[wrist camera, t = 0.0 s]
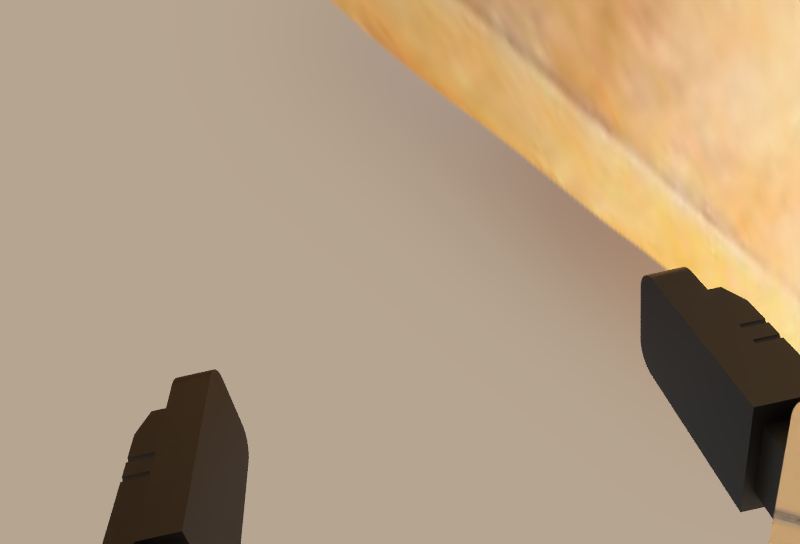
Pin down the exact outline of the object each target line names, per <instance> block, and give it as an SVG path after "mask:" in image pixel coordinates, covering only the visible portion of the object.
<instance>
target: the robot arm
mask: <svg viewBox="0 0 800 544" xmlns="http://www.w3.org/2000/svg"><path fill="white" fill-rule="evenodd" d="M641 347H642V352H643V356H644V359H645V362H646V365H647V367H648V369H649V371H650V373H651V375H652V376H653V378H654V379H655V381H656V382H657V384H658V385H659V387H660V389H661V390H662V392H663V393H664V395H665V396H666V398H667V399H668V401H669V403H670V404H671V405H672V407H673V409H674V410H675V412H676V413H677V415H678V416H679V418H680V419H681V421H682V423H683V424H684V426H685V427H686V428H687V430H688V432H689V433H690V435H691V436H692V438H693V440H694V441H695V443H696V444H697V446H698V447H699V449H700V450H701V452H702V453H703V455H704V456H705V458H706V459H707V461H708V463H709V464H710V466H711V467H712V469H713V470H714V472H715V474H716V475H717V477H718V478H719V480H720V481H721V483H722V484H723V486H724V487H725V489H726V490H727V492H728V493H729V495H730V496H731V498H732V500H733V501H734V503H735V504H736V506H737V507H738V509H739V510H740V512H743V511H748V510H752V509H757V508H761V507H765V508H766V509H767V511H768V512H769V514H770V515H771V517H772V518H773V522H772V528H771V534H770V539H769V544H800V355H799V354H798V352H797V351H796V350H795V349H794V348H793V347H792V346H791V345H790V344H789V343H788V342H787V341H786V340H785V339H784V338H780V335H779V333H778V332H777V331H776V330H775V329H774V328H773V327H772V326H771V324H770V323H769V322H768V323H766V321H765V318H764V317H763V316H762V315H761V314H760V313H759V312H758V311H757V310H756V309H755V308H754V307H753V306H752V305H751V304H750V303H749V302H748V301H747V300H745V299H743V298H742V297H740V296H738V295H736V294H734V293H732V292H730V291H728V290H726V289H724V288H722V287H718V288H714V289H709V290H707V288H706V287H705V286H704V285H703V284H702V283H701V282H700V281H699V280H698V278H697V277H696V276H695V275H694V274H693V273H692V272H691V271H690V270H689V269H688V268H686V267H681V268H677V269H672V270H668V271H663V272H659V273H654V274H650V275H646V276H644V277H643V278H642V281H641ZM248 455H249V453H248V444H247V438H246V434H245V431H244V428H243V425H242V423H241V420H240V418H239V416H238V413H237V411H236V409H235V407H234V404H233V402H232V400H231V397H230V395H229V393H228V391H227V388H226V386H225V384H224V381H223V379H222V377H221V375H220V373H219V372H218V371H217V370H210V371H205V372H201V373H196V374H192V375H187V376H183V377H179V378H175V379H174V381H173V383H172V387H171V391H170V395H169V399H168V403H167V407H166V408H165V409H160V410H156V411H152V412H151V413H150V414H149V416H148V417H147V418H146V420H145V421H144V423H143V424H142V425H141V426H140V428H139V429H138V430H137V432H136V433H135V435H134V438H133V441H132V445H131V448H130V452H129V455H128V462H127V463H126V465H125V469H124V472H123V476H122V479H123V482H121V483H120V486H119V489H118V492H117V496H116V500H115V503H114V506H113V510H112V513H111V516H110V520H109V523H108V527H107V531H106V534H105V537H104V540H103V544H241V534H242V523H243V513H244V503H245V493H246V482H247V471H248V459H249V456H248Z"/></svg>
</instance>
